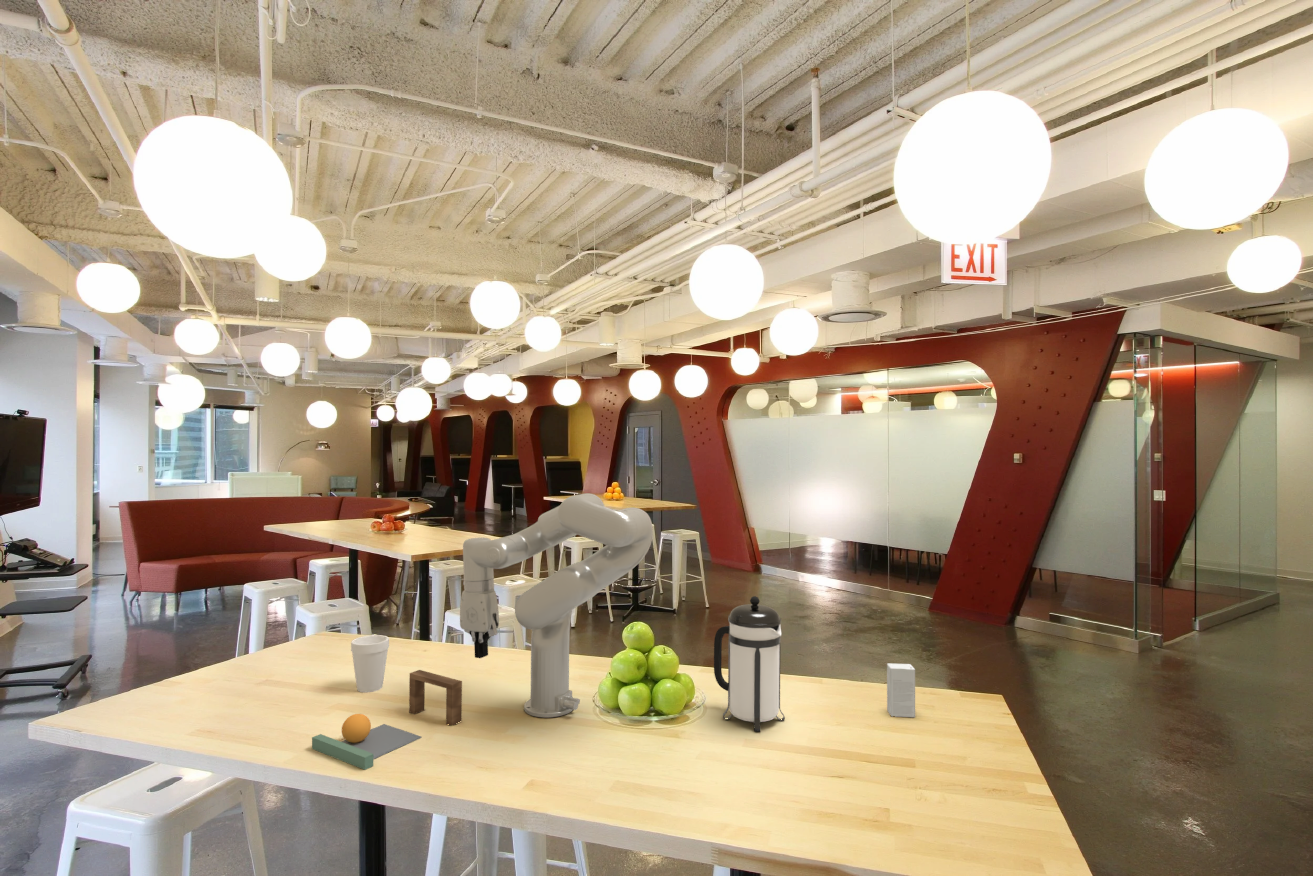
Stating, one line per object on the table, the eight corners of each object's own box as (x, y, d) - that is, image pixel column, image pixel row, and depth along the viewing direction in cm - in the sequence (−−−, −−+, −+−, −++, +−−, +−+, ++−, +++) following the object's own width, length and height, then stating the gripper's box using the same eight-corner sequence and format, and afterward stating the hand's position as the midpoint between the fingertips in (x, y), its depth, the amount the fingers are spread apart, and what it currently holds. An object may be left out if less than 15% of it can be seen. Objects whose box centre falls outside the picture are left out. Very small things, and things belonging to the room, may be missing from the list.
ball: (362, 751, 153) (381, 727, 156) (347, 738, 149) (367, 713, 153) (345, 742, 156) (364, 719, 159) (330, 729, 152) (350, 705, 156)
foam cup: (362, 697, 180) (363, 647, 180) (344, 689, 186) (344, 640, 186) (395, 687, 188) (395, 639, 188) (376, 679, 194) (377, 633, 194)
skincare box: (910, 711, 174) (911, 663, 174) (915, 718, 170) (915, 669, 170) (886, 710, 175) (886, 662, 175) (890, 716, 171) (890, 668, 171)
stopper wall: (373, 766, 143) (373, 754, 143) (364, 770, 141) (364, 757, 141) (320, 745, 152) (320, 734, 152) (311, 748, 150) (312, 737, 150)
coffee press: (781, 707, 176) (782, 589, 176) (787, 734, 160) (788, 604, 160) (713, 704, 178) (714, 587, 178) (712, 730, 162) (713, 602, 162)
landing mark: (421, 737, 157) (421, 736, 157) (371, 760, 145) (371, 759, 145) (384, 724, 163) (384, 724, 163) (333, 745, 152) (333, 744, 152)
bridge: (419, 708, 173) (419, 669, 173) (461, 721, 166) (462, 681, 166) (409, 712, 171) (409, 673, 171) (451, 726, 163) (452, 684, 163)
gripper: (447, 586, 181) (450, 657, 180) (489, 590, 173) (492, 664, 173) (469, 581, 187) (471, 649, 187) (510, 585, 179) (513, 656, 179)
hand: (481, 656), depth 180 cm, fingers closed
